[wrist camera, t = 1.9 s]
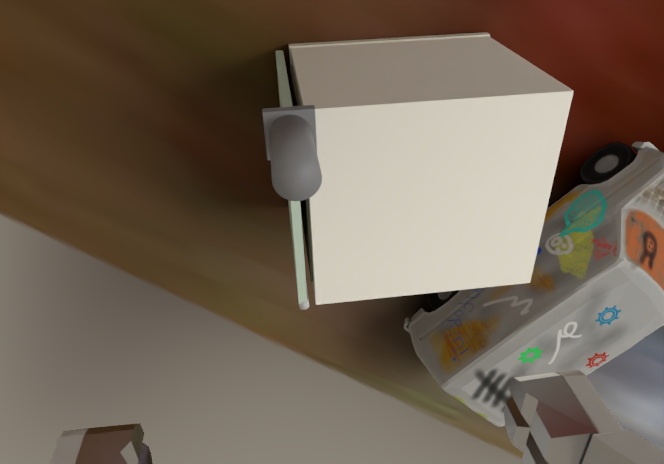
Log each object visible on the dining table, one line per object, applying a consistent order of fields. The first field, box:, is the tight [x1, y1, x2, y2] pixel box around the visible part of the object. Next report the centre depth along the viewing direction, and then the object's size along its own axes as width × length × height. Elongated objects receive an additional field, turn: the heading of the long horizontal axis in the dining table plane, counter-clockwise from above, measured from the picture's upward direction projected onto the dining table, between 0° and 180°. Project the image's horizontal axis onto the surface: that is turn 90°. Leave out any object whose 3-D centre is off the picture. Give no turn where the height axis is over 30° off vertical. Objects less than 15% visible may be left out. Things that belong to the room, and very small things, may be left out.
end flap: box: [262, 50, 322, 310], centre depth 31 cm, size 2×12×17 cm, turn 2°
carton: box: [289, 32, 574, 305], centre depth 34 cm, size 14×12×12 cm
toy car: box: [404, 142, 664, 427], centre depth 43 cm, size 11×25×10 cm, turn 135°
